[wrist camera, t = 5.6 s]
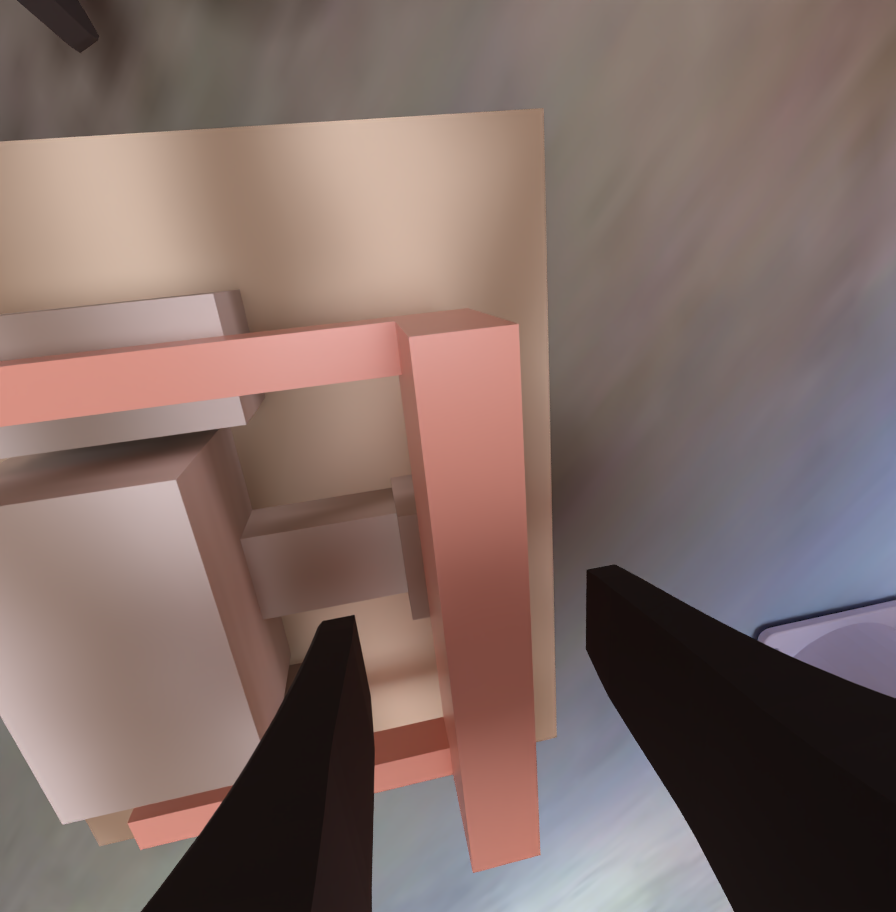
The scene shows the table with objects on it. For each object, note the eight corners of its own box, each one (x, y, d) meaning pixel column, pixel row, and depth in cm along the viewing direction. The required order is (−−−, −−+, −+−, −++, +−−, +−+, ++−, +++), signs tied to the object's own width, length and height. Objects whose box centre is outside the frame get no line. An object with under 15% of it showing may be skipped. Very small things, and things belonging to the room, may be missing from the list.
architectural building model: (526, 123, 12) (634, 29, 8) (545, 711, 20) (606, 851, 15) (-207, 170, 10) (-690, 82, 6) (115, 810, 18) (26, 1011, 13)
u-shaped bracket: (467, 308, 10) (518, 323, 7) (499, 730, 15) (540, 854, 11) (-49, 366, 9) (-262, 417, 6) (155, 809, 13) (94, 974, 10)
